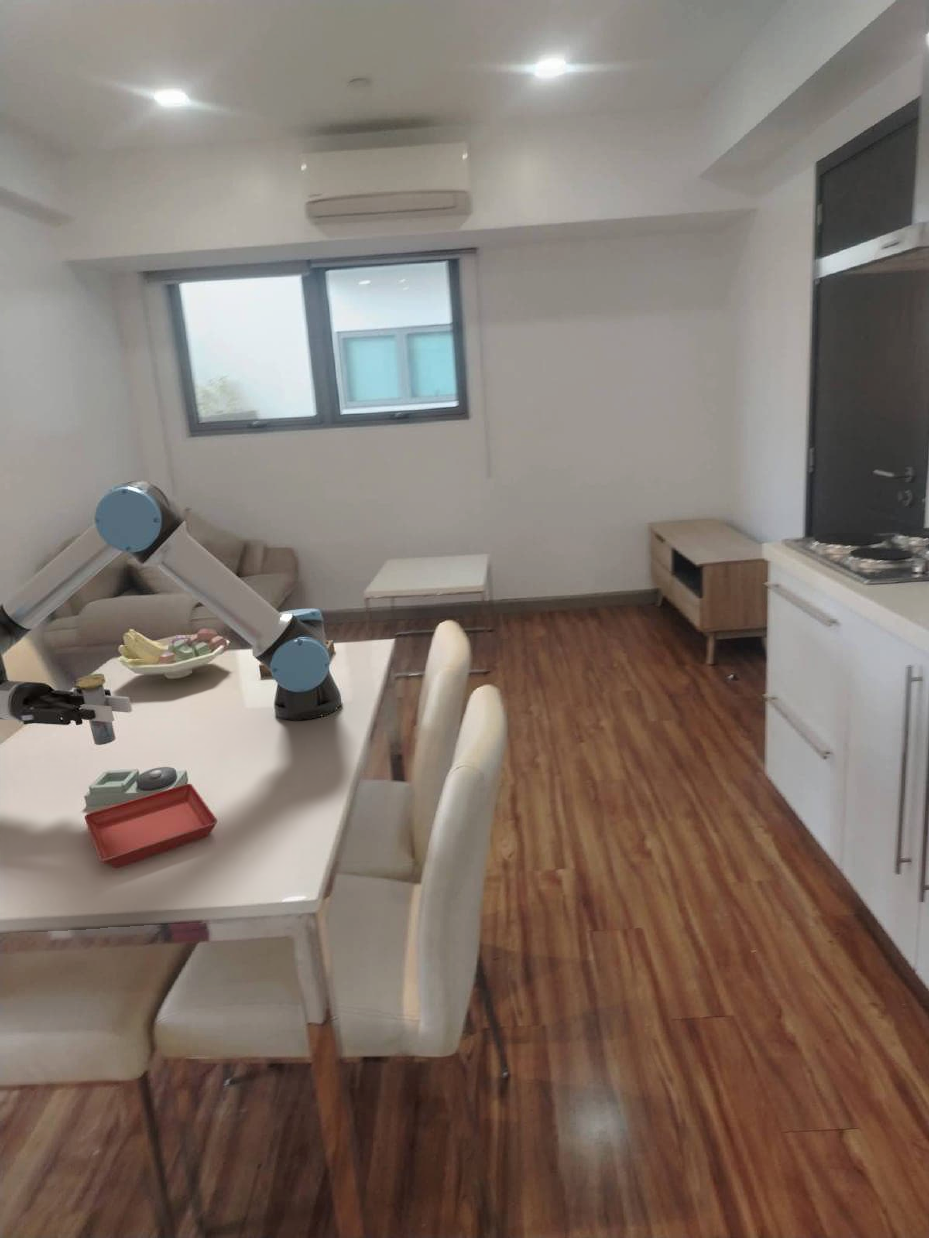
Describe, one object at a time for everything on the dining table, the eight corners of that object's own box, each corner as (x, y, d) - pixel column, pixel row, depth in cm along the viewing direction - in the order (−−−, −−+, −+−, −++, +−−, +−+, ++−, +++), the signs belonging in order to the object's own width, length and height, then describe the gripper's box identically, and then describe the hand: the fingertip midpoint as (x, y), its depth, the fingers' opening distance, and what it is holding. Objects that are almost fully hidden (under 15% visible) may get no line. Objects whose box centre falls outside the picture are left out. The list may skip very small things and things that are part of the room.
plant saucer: (193, 797, 145) (190, 780, 144) (222, 838, 130) (218, 820, 129) (87, 831, 136) (83, 814, 135) (104, 880, 121) (100, 861, 120)
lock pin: (122, 734, 147) (108, 672, 144) (111, 745, 143) (96, 681, 140) (98, 736, 148) (83, 674, 144) (86, 746, 143) (71, 683, 140)
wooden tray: (334, 650, 223) (333, 640, 222) (321, 672, 205) (319, 661, 205) (278, 654, 224) (276, 644, 223) (260, 676, 206) (258, 665, 205)
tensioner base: (188, 779, 151) (184, 761, 150) (172, 800, 144) (168, 781, 143) (106, 784, 152) (102, 766, 151) (86, 805, 145) (81, 786, 144)
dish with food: (102, 678, 212) (93, 628, 208) (195, 649, 233) (189, 603, 228) (156, 704, 195) (148, 650, 191) (252, 670, 215) (246, 621, 211)
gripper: (66, 703, 159) (157, 710, 150) (-8, 738, 144) (88, 749, 135) (57, 667, 157) (149, 673, 148) (-19, 700, 142) (78, 708, 133)
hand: (119, 709), depth 141 cm, fingers closed on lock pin, 3 cm apart
